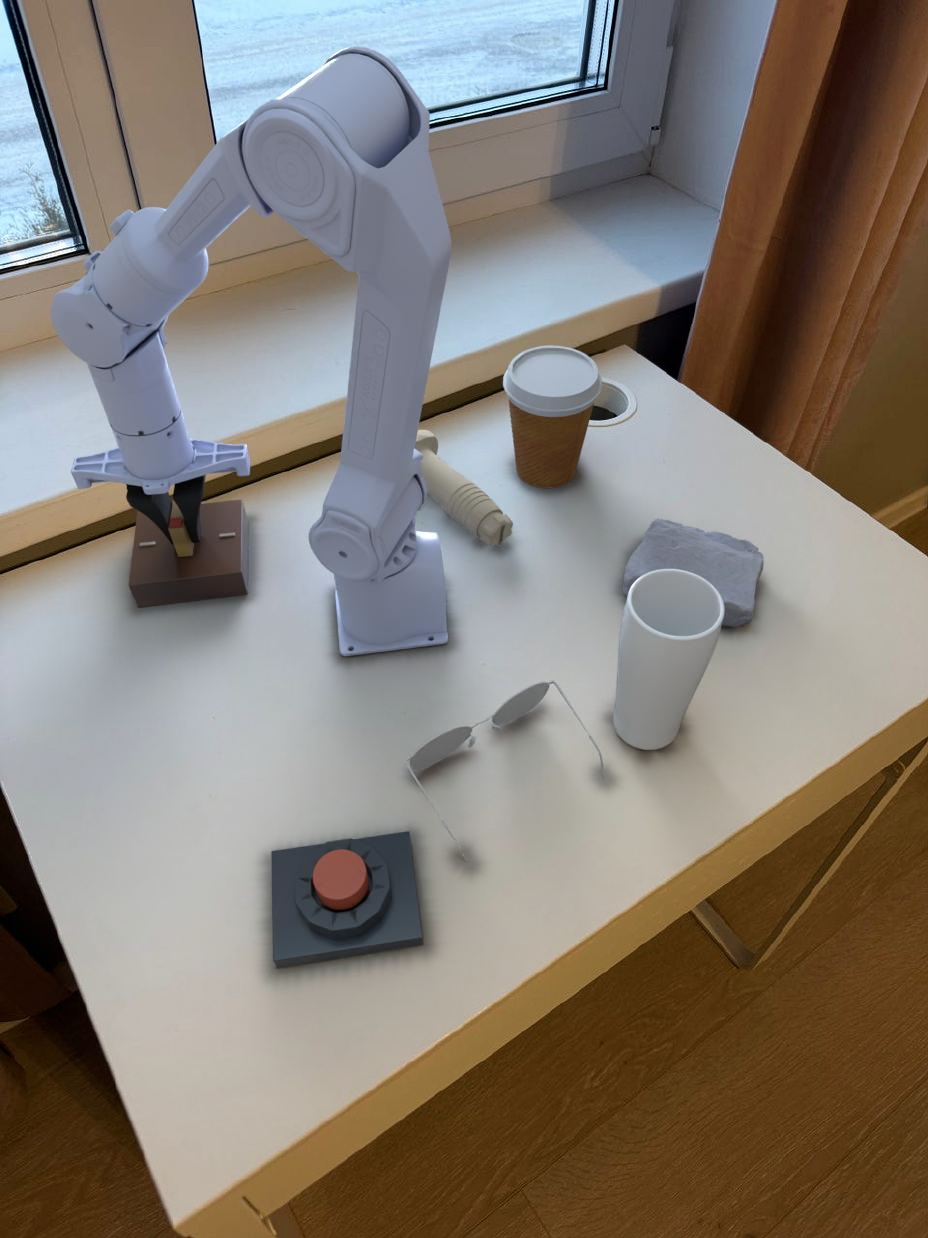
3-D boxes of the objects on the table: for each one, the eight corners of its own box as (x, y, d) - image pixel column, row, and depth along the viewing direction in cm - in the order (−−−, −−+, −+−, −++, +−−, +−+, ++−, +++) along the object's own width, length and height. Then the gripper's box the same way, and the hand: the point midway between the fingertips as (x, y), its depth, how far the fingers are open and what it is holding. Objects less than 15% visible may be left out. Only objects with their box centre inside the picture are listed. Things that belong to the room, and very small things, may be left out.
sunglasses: (546, 701, 74) (556, 671, 70) (607, 782, 71) (621, 756, 67) (401, 780, 70) (403, 753, 65) (458, 871, 66) (464, 849, 62)
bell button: (366, 857, 63) (364, 845, 61) (370, 906, 60) (368, 895, 59) (314, 864, 62) (311, 853, 61) (317, 914, 60) (313, 903, 59)
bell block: (410, 839, 66) (408, 820, 64) (423, 945, 61) (421, 928, 59) (274, 859, 65) (267, 840, 63) (276, 968, 60) (268, 952, 58)
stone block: (639, 547, 89) (614, 601, 81) (650, 505, 86) (625, 558, 78) (758, 582, 86) (744, 642, 78) (774, 541, 83) (761, 599, 75)
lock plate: (248, 521, 89) (242, 497, 87) (248, 594, 83) (241, 570, 80) (146, 533, 88) (136, 509, 86) (137, 607, 82) (127, 584, 79)
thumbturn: (182, 523, 85) (172, 493, 82) (196, 522, 85) (187, 492, 82) (178, 557, 82) (167, 527, 79) (192, 556, 82) (182, 526, 79)
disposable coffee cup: (490, 448, 96) (492, 350, 87) (575, 434, 98) (585, 336, 89) (514, 506, 90) (518, 406, 81) (604, 490, 92) (617, 391, 83)
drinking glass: (634, 774, 70) (664, 654, 58) (587, 711, 74) (607, 587, 62) (704, 740, 72) (747, 617, 60) (654, 680, 76) (686, 554, 64)
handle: (474, 566, 85) (381, 481, 92) (523, 539, 88) (430, 459, 96) (478, 529, 82) (382, 443, 89) (530, 503, 85) (432, 422, 92)
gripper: (44, 452, 70) (99, 573, 80) (232, 438, 70) (263, 559, 81) (60, 399, 74) (111, 520, 84) (237, 386, 75) (266, 507, 85)
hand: (186, 536), depth 83 cm, fingers closed on thumbturn
